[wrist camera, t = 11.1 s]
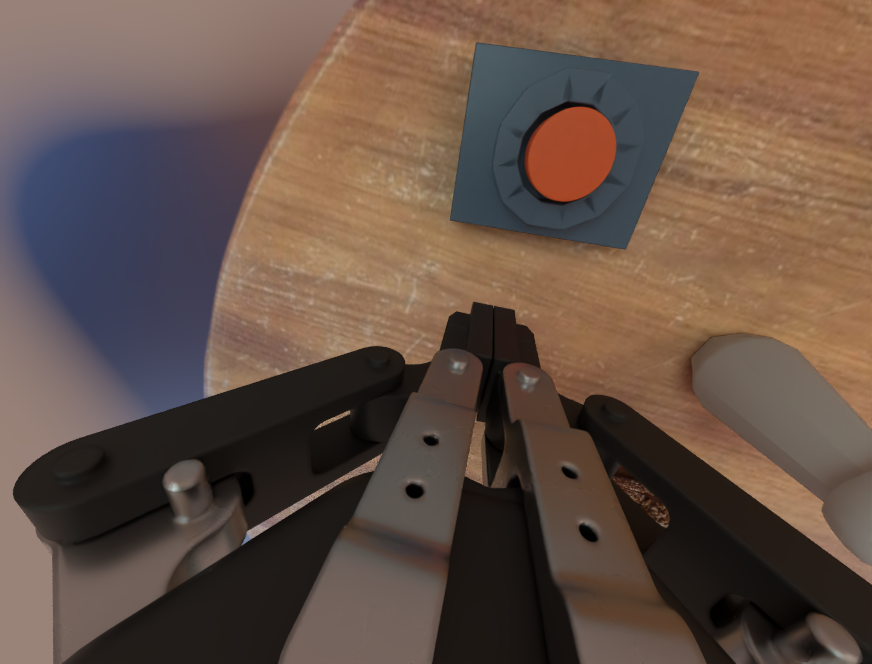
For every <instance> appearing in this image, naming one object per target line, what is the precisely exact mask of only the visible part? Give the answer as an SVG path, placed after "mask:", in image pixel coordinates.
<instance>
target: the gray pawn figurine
mask: <svg viewBox="0 0 872 664" xmlns="http://www.w3.org/2000/svg"><path fill="white" fill-rule="evenodd" d="M691 363H692V372H693V380H692V389H693V391H694V393H695V395H696V397H697V398H698V400H699V401H700V403H701V404H702V406H703V407H704V408H705V409H706V410H708V411H709V412H710V413H711V414H713V415H714V416H715V417H716V418H718V419H719V420H720V421H721V422H723V423H724V424H725V425H727V426H728V427H729V428H730V429H732V430H733V431H734V432H735V433H737V434H738V435H739V436H741V437H742V438H743V439H744V440H746V441H747V442H748V443H749V444H751V445H752V446H753V447H755V448H756V449H757V450H758V451H760V452H761V453H762V454H763V455H765V456H766V457H767V458H769V459H770V460H771V461H772V462H774V463H775V464H776V465H777V466H779V467H780V468H781V469H783V470H784V471H785V472H786V473H788V474H789V475H790V476H791V477H793V478H794V479H795V480H796V481H798V482H799V483H800V484H802V485H803V486H804V487H805V488H807V489H808V490H809V491H810V492H812V493H813V494H814V495H816V496H817V497H818V498H819V499H821V500H822V501H823V502H824V504H823V507H822V513H823V515H824V518H825V519H826V521H827V523H828V524H829V526H830V528H831V529H832V531H833V532H834V533H835V535H836V536H837V537H838V539H839V540H840V541H841V542H842V544H843V545H844V546H845V547H846V548H847V549H848V550H850V551H851V552H852V553H853V554H854V555H855V556H856V557H858V558H859V559H860V560H861V561H862V562H864V563H866V564H869V565H871V566H872V429H871V428H870V427H869V426H868V425H867V423H866V422H865V421H864V420H863V419H862V418H861V417H860V416H859V415H858V414H857V413H856V412H855V411H854V410H853V408H852V407H851V406H850V405H849V404H848V403H847V402H846V401H845V400H844V399H843V398H842V397H841V396H840V395H839V393H838V392H837V391H836V390H835V389H834V388H833V387H832V386H831V385H830V384H829V383H828V382H827V381H826V379H825V378H824V377H823V376H822V375H821V374H820V373H819V372H818V371H817V370H816V369H815V368H814V367H813V366H812V364H811V363H810V362H809V361H808V360H807V359H806V358H805V357H804V356H803V355H802V354H801V353H800V352H799V351H798V350H797V349H795V348H793V347H791V346H789V345H787V344H785V343H782V342H780V341H778V340H776V339H774V338H772V337H766V336H760V335H754V334H748V333H737V334H731V335H724V336H717V337H711V338H710V339H709V340H708V341H707V342H706V343H705V344H704V345H703V346H702V347H701V348H700V349H699V350H698V351H697V352H696V353H695V354H694V355H693V356H692V357H691Z"/></svg>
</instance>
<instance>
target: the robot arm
mask: <svg viewBox="0 0 872 664" xmlns="http://www.w3.org/2000/svg"><path fill="white" fill-rule="evenodd" d="M536 349H537V348H536V344H535V339H534V334H533V333H532V332H531V331H530V330H529V328H528V327H527V326H524V325H519V324H516V318H515V310H512V309H507V308H502V307H497V306H494V308H493V306H492V305H487V304H482V303H478V302H473V304H472V309H471V313H470V314H466V313H461V312H457V311H456V312H455V313H453V314H452V315H451V316H449V318H448V322H447V326H446V329H445V333H444V336H443V340H442V344H441V347H440V351H438V352H437V353H436V354H435V355H434V357H433V359H432V361H431V362H428V363H424V364H415V365H413V364H405V360H404V358H403V356H402V355H401V354H400V353H399V352H397V351H395V350H393V349H391V348H387V347H382V346H371V347H366V348H362V349H359V350H356V351H353V352H350V353H346V354H343V355H340V356H337V357H334V358H331V359H327V360H324V361H321V362H318V363H315V364H312V365H309V366H305V367H302V368H299V369H296V370H293V371H290V372H287V373H283V374H280V375H277V376H274V377H271V378H268V379H264V380H261V381H258V382H255V383H252V384H249V385H246V386H242V387H239V388H236V389H233V390H230V391H227V392H223V393H220V394H217V395H214V396H211V397H208V398H205V399H201V400H198V401H195V402H192V403H189V404H186V405H182V406H180V407H176V408H173V409H170V410H167V411H164V412H161V413H157V414H154V415H151V416H148V417H145V418H142V419H138V420H135V421H132V422H129V423H126V424H123V425H119V426H116V427H113V428H110V429H107V430H104V431H101V432H98V433H94V434H91V435H88V436H85V437H82V438H79V439H76V440H73V441H70V442H68V443H66V444H63V445H61V446H59V447H57V448H55V449H53V450H51V451H50V452H48V453H46V454H45V455H43V456H41V457H40V458H39V459H37V460H36V461H35V462H33V463H32V464H31V465H30V466H29V467H28V468H26V469H25V471H24V472H23V473H22V474H21V475H20V476H19V478H18V480H17V481H16V483H15V486H14V489H13V496H14V499H15V501H16V502H17V503H18V505H19V506H20V508H21V509H22V510H23V511H24V513H25V514H26V515H27V517H28V518H29V519H30V521H31V522H32V523H33V525H34V526H35V527H36V533H37V537H38V538H39V539H40V540H41V542H42V543H43V544H44V546H45V547H46V548H47V549H48V551H49V552H50V553H51V555H52V563H53V656H54V657H53V658H54V659H53V660H54V664H872V585H871V584H870V583H869V582H867V581H866V580H865V579H863V578H862V577H860V576H859V575H858V574H856V573H855V572H854V571H852V570H851V569H850V568H848V567H847V566H845V565H844V564H843V563H841V562H840V561H839V560H837V559H836V558H835V557H833V556H832V555H831V554H829V553H828V552H826V551H825V550H824V549H822V548H821V547H820V546H818V545H817V544H816V543H814V542H813V541H812V540H810V539H809V538H807V537H806V536H805V535H803V534H802V533H801V532H799V531H798V530H797V529H795V528H794V527H792V526H791V525H790V524H788V523H787V522H786V521H784V520H783V519H782V518H780V517H779V516H778V515H776V514H775V513H773V512H772V511H771V510H769V509H768V508H767V507H765V506H764V505H763V504H761V503H760V502H758V501H757V500H756V499H754V498H753V497H752V496H750V495H749V494H748V493H746V492H745V491H744V490H742V489H741V488H739V487H738V486H737V485H735V484H734V483H733V482H731V481H730V480H729V479H727V478H726V477H724V476H723V475H722V474H720V473H719V472H718V471H716V470H715V469H714V468H712V467H711V466H710V465H708V464H707V463H705V462H704V461H703V460H701V459H700V458H699V457H697V456H696V455H695V454H693V453H692V452H691V451H689V450H688V449H686V448H685V447H684V446H682V445H681V444H680V443H678V442H677V441H676V440H674V439H673V438H671V437H670V436H669V435H667V434H666V433H665V432H663V431H662V430H661V429H659V428H658V427H657V426H655V425H654V424H652V423H651V422H650V421H648V420H647V419H646V418H644V417H643V416H642V415H640V414H639V413H637V412H636V411H635V410H633V409H632V408H631V407H629V406H628V405H626V404H625V403H623V402H621V401H619V400H617V399H615V398H612V397H609V396H605V395H592V396H589V397H588V398H587V399H586V400H585V402H584V404H583V405H582V404H580V403H578V402H575V401H573V400H571V399H568V398H566V397H564V396H562V395H560V394H558V393H557V390H556V388H555V385H554V382H553V380H552V378H551V377H550V376H549V375H548V374H547V373H546V372H545V371H543V370H541V368H540V363H539V358H538V353H537V351H536ZM349 410H350V414H349V415H347V416H345V417H343V418H341V419H338V420H336V421H334V422H332V423H329V424H327V425H325V426H323V427H321V428H318V429H316V430H314V429H315V428H316V427H317V426H318V425H319V424H321V423H322V422H324V421H326V420H328V419H331V418H333V417H335V416H337V415H340V414H342V413H344V412H346V411H349ZM476 413H477V420H476V421H481V422H485V430H484V434H483V437H482V440H481V455H482V476H483V485H482V484H480V483H478V482H476V481H473V480H471V479H469V478H467V477H465V471H466V465H467V460H468V455H469V449H470V444H471V438H472V433H473V428H474V422H475V417H476ZM382 453H383V454H382ZM380 454H382V456H381V458H380V460H379V462H378V464H377V466H376V468H375V470H374V471H372V472H368V473H364V474H361V475H358V476H355V477H352V478H350V479H348V480H346V481H344V482H342V483H340V484H339V485H337V486H335V487H334V488H332V489H330V490H329V491H327V492H326V493H324V494H323V495H321V496H319V497H318V498H316V499H315V500H313V501H311V502H310V503H308V504H307V505H305V506H304V507H302V508H300V509H299V510H297V511H296V512H294V513H292V514H291V515H289V516H288V517H286V518H285V519H283V520H281V521H280V522H278V523H277V524H275V525H273V526H272V527H270V528H269V529H267V530H265V531H264V532H262V533H261V534H259V535H258V536H256V537H254V538H253V539H251V540H250V541H248V542H246V543H245V544H244V545H242V543H243V541H244V539H245V537H246V533H247V531H248V530H250V529H252V528H253V527H255V526H257V525H259V524H260V523H262V522H264V521H265V520H267V519H269V518H271V517H272V516H274V515H276V514H278V513H279V512H281V511H283V510H285V509H286V508H288V507H290V506H291V505H293V504H295V503H297V502H298V501H300V500H302V499H304V498H305V497H307V496H309V495H311V494H312V493H314V492H316V491H318V490H319V489H321V488H323V487H324V486H326V485H328V484H330V483H331V482H333V481H335V480H337V479H338V478H340V477H342V476H344V475H345V474H347V473H349V472H350V471H352V470H354V469H356V468H357V467H359V466H361V465H363V464H364V463H366V462H368V461H370V460H371V459H373V458H375V457H377V456H378V455H380ZM620 465H621V466H622V467H623V468H624V469H625V470H626V471H628V472H629V473H630V474H631V475H632V476H633V477H634V478H635V479H637V480H638V481H639V482H640V483H641V484H642V485H643V486H644V487H645V488H647V489H648V490H649V491H650V492H651V493H652V494H653V495H654V496H656V497H657V498H658V499H659V500H660V501H661V502H662V503H663V504H664V506H665V507H666V509H667V511H668V513H669V517H670V522H669V525H668V526H667V528H665V527H663V526H661V525H660V524H658V523H657V522H656V521H655V520H654V519H653V518H652V517H651V516H650V515H649V514H648V513H646V512H645V511H644V510H643V509H642V508H641V507H640V506H639V505H638V504H637V503H636V502H635V501H634V500H633V499H632V498H631V497H630V496H629V495H628V494H626V493H625V492H624V491H623V490H622V489H621V488H620V487H619V486H618V485H617V484H616V483H615V482H614V481H613V480H612V478H613V476H614V474H615V473H616V471H617V470H618V468H619V467H620ZM241 545H242V546H241Z"/></svg>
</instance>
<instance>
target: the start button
mask: <svg viewBox="0 0 872 664" xmlns="http://www.w3.org/2000/svg"><path fill="white" fill-rule="evenodd" d="M615 154H616V137H615V133H614V130H613V127H612V126H611V124H610V122H609V121H608V120H607V118H606V117H605V116H604V115H602V114H601V113H600V112H598V111H596V110H594V109H591V108H587V107H572V108H568V109H565V110H562V111H560V112H558V113H556V114H554V115H553V116H551V117H549V118H548V119H546V120H545V121H544V122H543V123H541V124H540V125H539V126H538V128H537V129H536V130H535V131H534V133H533V134H532V136H531V138H530V140H529V142H528V144H527V147H526V151H525V158H524V165H525V171H526V175H527V177H528V179H529V181H530V183H531V184H532V186H533V187H534V188H535V189H536V190H537V191H538V192H540V193H541V194H542V195H543V196H545V197H547V198H549V199H551V200H555V201H561V202H567V201H574V200H577V199H580V198H582V197H585V196H586V195H588V194H590V193H591V192H593V191H594V190H595V189H596V188H597V187H598V186H599V185H600V184H601V183H602V182H603V181H604V180H605V178H606V177H607V175H608V174H609V172H610V170H611V168H612V165H613V162H614V159H615Z"/></svg>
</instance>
